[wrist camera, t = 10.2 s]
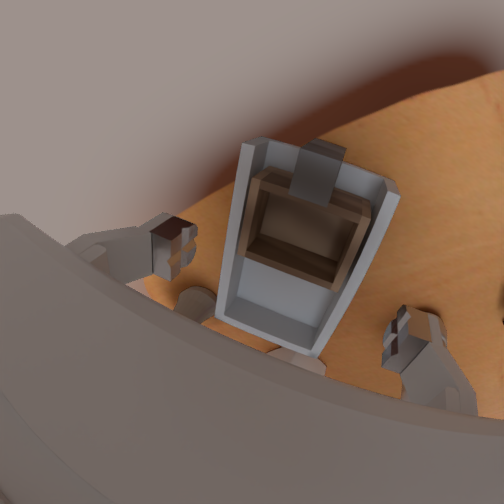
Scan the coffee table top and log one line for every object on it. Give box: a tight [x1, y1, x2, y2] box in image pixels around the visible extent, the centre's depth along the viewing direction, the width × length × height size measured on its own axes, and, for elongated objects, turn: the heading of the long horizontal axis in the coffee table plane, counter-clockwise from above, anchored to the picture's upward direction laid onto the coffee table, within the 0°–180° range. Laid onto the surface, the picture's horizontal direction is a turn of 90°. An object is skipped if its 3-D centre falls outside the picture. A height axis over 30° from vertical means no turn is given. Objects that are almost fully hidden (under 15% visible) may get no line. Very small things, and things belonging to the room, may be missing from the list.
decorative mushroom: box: [173, 286, 217, 324], centre depth 36 cm, size 10×9×15 cm
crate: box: [237, 138, 371, 293], centre depth 24 cm, size 12×10×7 cm
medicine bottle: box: [267, 347, 326, 376], centre depth 36 cm, size 7×7×12 cm
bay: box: [214, 136, 401, 359], centre depth 29 cm, size 22×14×5 cm, turn 169°
